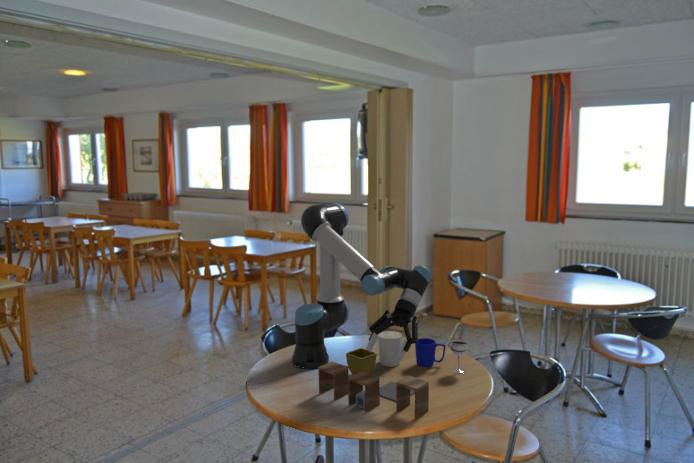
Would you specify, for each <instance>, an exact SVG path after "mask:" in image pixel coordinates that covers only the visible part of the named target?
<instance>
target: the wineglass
mask: <svg viewBox="0 0 694 463" xmlns="http://www.w3.org/2000/svg"><path fill="white" fill-rule="evenodd" d="M468 343H469V341H468V340H466V339H462V338H454V339H451V340H450V345H449V346H450V347H449V348H450V351H451V352H452V353H453V354H455V355H456V356H457V364H458V365H457V367H458V368H455V369H452V371H453V372H452V373H453V374H456V373H463V372H464V371H465V370H464V369H462V368H461V369H460V367H461V366H460V365H461V364H460V363H461V356H463V355H465V354H466V353H467V352H468V349H469V345H468ZM463 370H464V371H463ZM463 374H464V373H463Z"/></svg>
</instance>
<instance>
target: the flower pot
mask: <svg viewBox="0 0 694 463" xmlns="http://www.w3.org/2000/svg"><path fill="white" fill-rule="evenodd" d="M377 355H378V353H377V352H376V351H373V350H372V351H371V352H369V351H368V350H367V349H366V348H364V347H360V348H357V349H354V350H350V351H348V352H346V353H345V357H346V363H347V365H346V366H348V371H349V373H351V376H352V375H354V374H356V373H358V372H360V371H363V372H366V373H369V374H372V373H373V371H374V369H375V366H376V363H377Z"/></svg>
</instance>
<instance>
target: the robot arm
mask: <svg viewBox="0 0 694 463" xmlns="http://www.w3.org/2000/svg"><path fill="white" fill-rule="evenodd" d="M302 212H303V213H302V214H301V218H300V221H301V227H302V229H303V232H304V233H305V234H306V235H307V236H308V237H309V239H311V240H312V241H313V242H314V243H319V283H320V285H319V288H320V290H319V291H320V292H319V293H320V294H319V295H318V297H316V303H313V302H312V303H306V304H302V305H300V306H299V307H297V309H296V310H295V313H294V328H295V330H294V332H295V346H294V350H293V354H292V357H291V364H292V363H293V364H294V365H296V366H299V367H304V368H303V369H305V368H313V369H318V367H320V366H322V365H325V364H327V363H329V362H330V360H329V359H330V358H329V356H330V355H329V353H328V351H327V348H326V345H325V333H328V332H330V331H333V330H335V329H339V328H340V327H341V326H344V325H345V324H346V323H347V322H348V319H349V316H350V307H349V306H348V305H347V302H346V301H345V298H344V296H343V295H342V294H341V265H342V266H343V267H344V268H346V270H347V271H348V272H350V273H351V274H352V275H353V276H354V277H356V279H357V280H358V281H359V282H361V284H360V285H361V289H362V292H364V293H365V295H366V296H367V295H368V296H371V297H372V296H376V295H377V296H378V295H380V294H382V293H384V292H387V291H391V290H393V289H395V288H397V289H401V291H402V292H401V293H400V296H399V299H398V300H397V301H396V304H395V305H394V310H393V311H392V312H390V311H389V310H388V309H387V310H385V311H384V313H383V314H382V315H381V316H380V317H379V318H378V319H377V320H375V322H374V323H373V324H372V325H371V326H370V327H369V328H368V330H369V331H370V332H371V333H370V335H369V338H368V343H367V344H366V347H365V349H366V350H368V351H369V352H371V351H372V352H373V349H374V346H375V345H376V343H377V340H378V334H380V333H381V332H384V331H387V329H389V328H391V327H394V326H395V327H399V328H402V329H403V330H404V331H403V332H404V334H405V338H406V339H404V340H403V342H402V343H401V349H400V351H399V353H398V355H397V358H398V359H399V360H400V362H402V361H403V359H404V357H405V355H406V353H409V350H410V348H411V346H412V345H415V344H417V343H418V339H419V333H418V332H419V331H418V329H419V328H418V327H419V326H418V325H419V323H420V320H419V318H418V317H417V316H416V315H415V313H416V312H417V310H418V309H417V308H418V307H419V305H420V303H421V301H422V299H423V296H424V294H425V292H426V290H427V289H428V286H429V285H430V282H431V279H432V277H433V274H432V271H431V270H430V269H429V268H428V267H426V266H425V265H415V266H414V267H413V269H405V268H401V267H396V266H391V265H385V266H383V267H382V268H381V269H380V270H378V269H377V268H376V267H375V266H374V265H373V264H372V263H371V262H369V260H367V259H366V258H365V257H364V256H363V255H362V254H360V252H359V251H357V250H356V249H355V248H354V247H353V246H352V245H351V244H350V243H348V241H346V240H345V239H344V238H343V236H344V229H345V228H346V227H347V226H348V225H349V220H350V219H349V217H350V216H349V212H348V211H347V209H346V208H345V207H344V206H343V205H342V204H340V203H338V202H326V203H320V204H313V205H309V206H308V207H306V208H305V209H304V211H302ZM410 323H411V330H410V326H409V324H410ZM410 331H411V332H410ZM293 364H292V365H293ZM294 365H293V366H294ZM296 366H295V367H296ZM299 367H298V368H299Z"/></svg>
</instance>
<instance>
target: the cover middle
mask: <svg viewBox="0 0 694 463" xmlns="http://www.w3.org/2000/svg"><path fill="white" fill-rule="evenodd" d="M380 378H381V377H380V376H379V375H375V374H372V373H371V374H369V373H366V372H363V371H360V372H358V373H356V374H354V375H352V374H351V375H349V377H348V394H347V396H348V397H347V398H348V399H347V400H348V401H347V402H348V406H350V407H351V406H353V405H354V404H356V394H358V393H360V392H362V391H365V409H364V412H365V413H368V412H369V411H371V410H373V409H375V408H377V407H379V406H381V403H380V402H381V401H380V400H381V399H380V397H381V396H380V387H381V386H380V385H381V384H380V383H381V382H380Z"/></svg>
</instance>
